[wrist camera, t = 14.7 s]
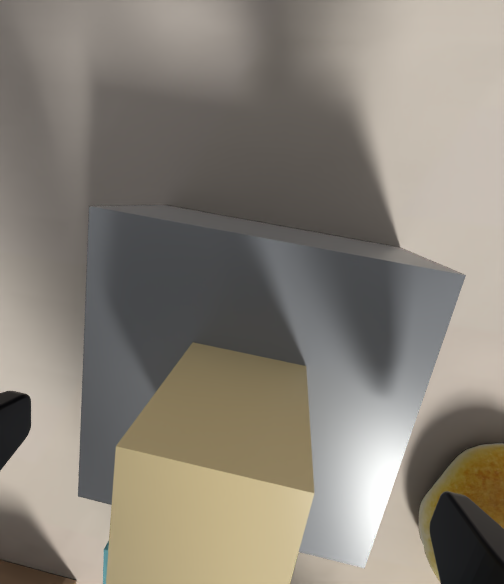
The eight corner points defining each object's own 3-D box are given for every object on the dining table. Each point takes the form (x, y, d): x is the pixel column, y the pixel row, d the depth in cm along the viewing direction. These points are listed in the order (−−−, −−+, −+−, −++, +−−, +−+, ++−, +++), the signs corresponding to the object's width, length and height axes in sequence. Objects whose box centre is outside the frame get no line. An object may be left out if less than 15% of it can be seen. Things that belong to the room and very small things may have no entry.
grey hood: (342, 450, 15) (406, 791, 6) (144, 406, 16) (-42, 657, 7) (400, 247, 13) (633, 345, 4) (164, 204, 13) (-85, 208, 5)
